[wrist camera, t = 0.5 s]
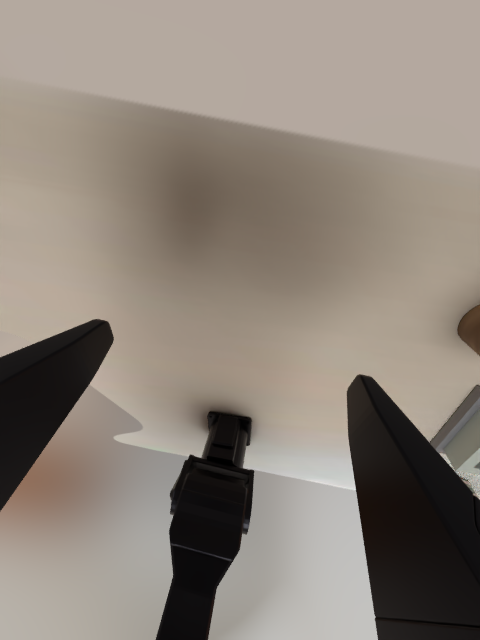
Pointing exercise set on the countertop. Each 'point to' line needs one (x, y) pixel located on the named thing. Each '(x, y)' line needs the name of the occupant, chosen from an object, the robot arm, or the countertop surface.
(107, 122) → the countertop surface
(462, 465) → the dock
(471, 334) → the walnut plug
